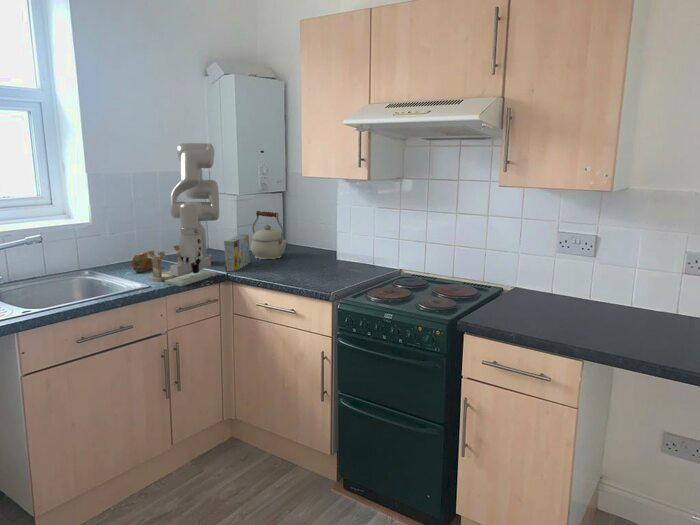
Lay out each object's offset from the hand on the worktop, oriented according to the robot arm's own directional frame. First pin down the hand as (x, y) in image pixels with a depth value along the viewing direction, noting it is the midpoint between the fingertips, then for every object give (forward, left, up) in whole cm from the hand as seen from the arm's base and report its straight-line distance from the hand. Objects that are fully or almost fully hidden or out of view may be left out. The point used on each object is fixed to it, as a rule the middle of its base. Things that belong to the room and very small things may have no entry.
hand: (191, 272), depth 243 cm
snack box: (-31, +2, -4) cm, 31 cm away
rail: (0, 0, +1) cm, 1 cm away
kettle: (-59, +3, -4) cm, 59 cm away
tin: (-5, -34, -4) cm, 34 cm away
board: (0, 0, -3) cm, 3 cm away
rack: (0, -13, -3) cm, 13 cm away
